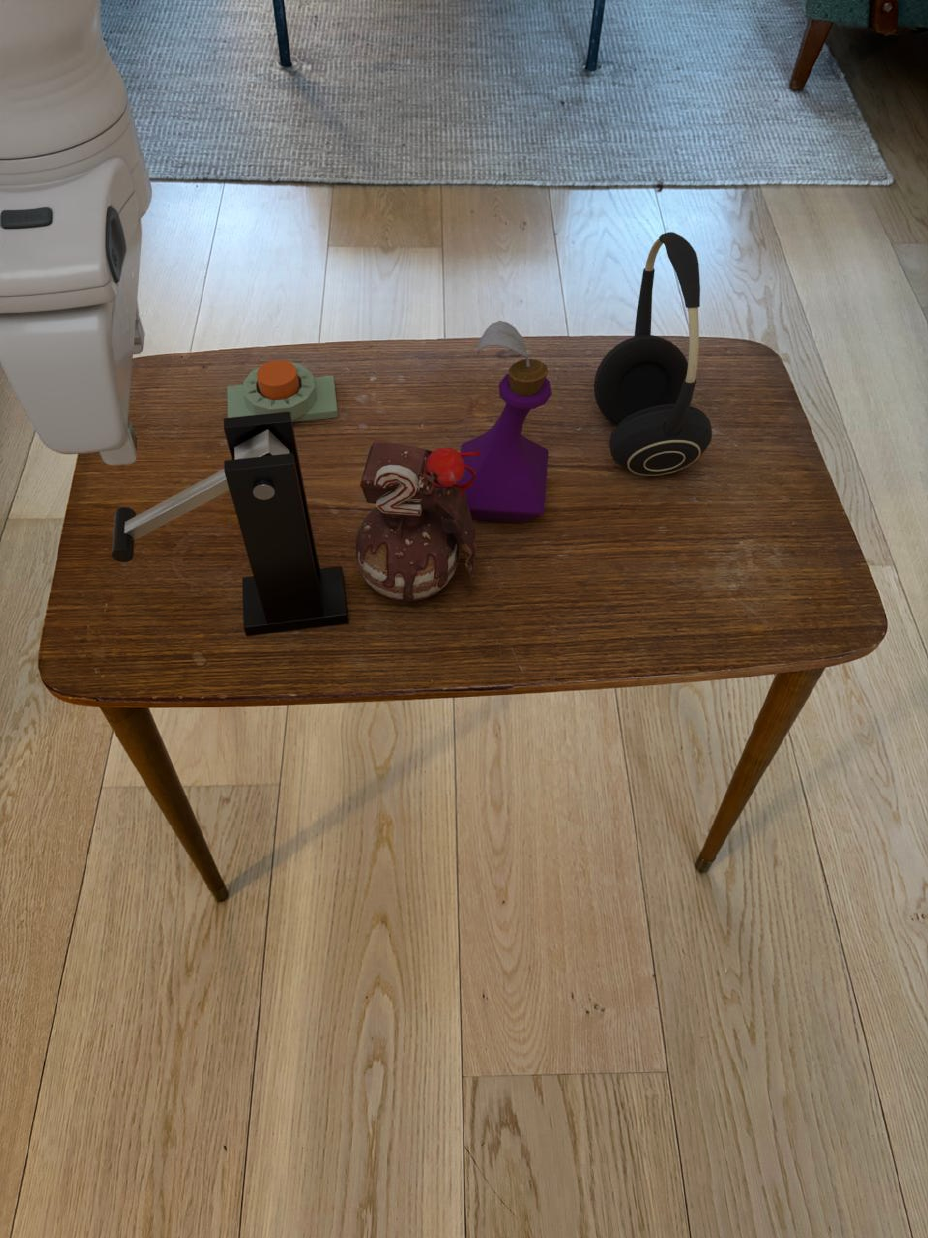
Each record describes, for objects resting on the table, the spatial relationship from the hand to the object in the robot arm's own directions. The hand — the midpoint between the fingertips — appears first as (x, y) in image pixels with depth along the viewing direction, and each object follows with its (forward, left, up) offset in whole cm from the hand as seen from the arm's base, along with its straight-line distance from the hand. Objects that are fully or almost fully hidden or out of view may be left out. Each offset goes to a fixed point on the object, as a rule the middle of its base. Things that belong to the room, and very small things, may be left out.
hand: (126, 398), depth 57 cm
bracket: (+7, +2, -24) cm, 25 cm away
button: (+7, +26, -22) cm, 35 cm away
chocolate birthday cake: (+17, +3, -24) cm, 29 cm away
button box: (+7, +26, -24) cm, 36 cm away
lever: (+2, +2, -12) cm, 12 cm away
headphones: (+39, +15, -24) cm, 48 cm away
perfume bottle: (+25, +10, -24) cm, 36 cm away
